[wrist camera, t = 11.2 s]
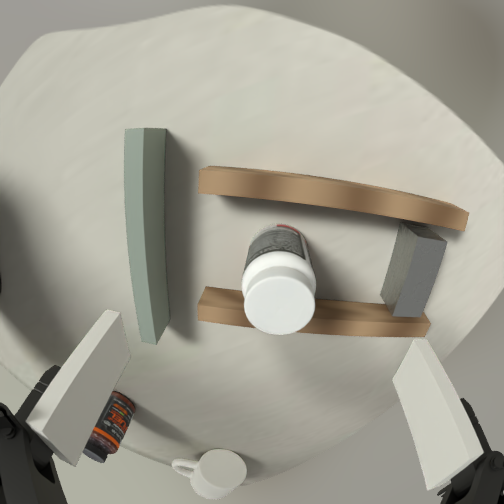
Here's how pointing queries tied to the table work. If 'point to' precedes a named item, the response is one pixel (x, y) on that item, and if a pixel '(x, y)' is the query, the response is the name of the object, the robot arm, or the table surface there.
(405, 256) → the tall gray brick
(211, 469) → the mug
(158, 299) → the door edge rail
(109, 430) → the supplement bottle
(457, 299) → the table surface
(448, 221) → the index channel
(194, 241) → the table surface
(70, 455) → the robot arm
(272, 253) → the pill bottle
